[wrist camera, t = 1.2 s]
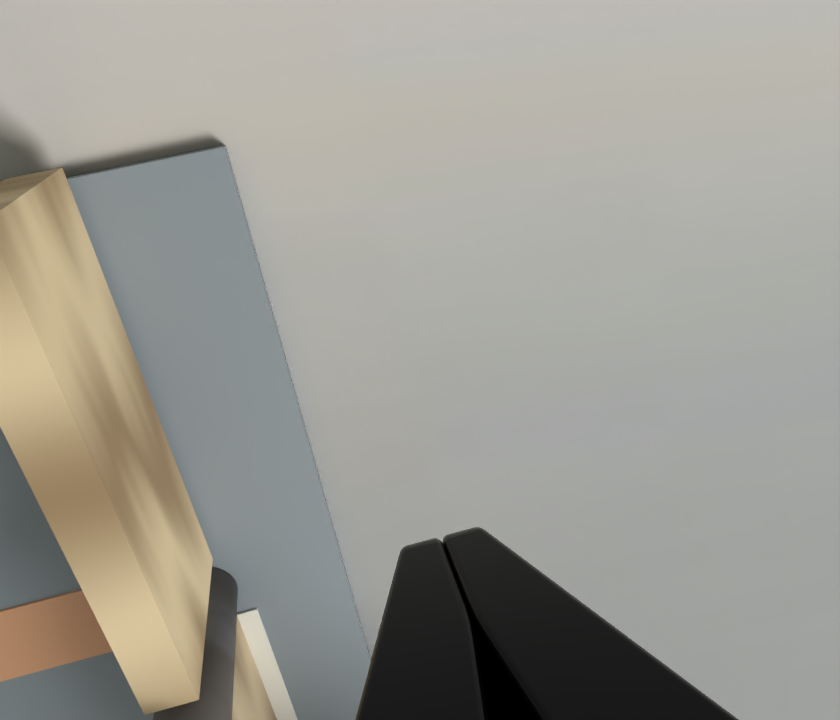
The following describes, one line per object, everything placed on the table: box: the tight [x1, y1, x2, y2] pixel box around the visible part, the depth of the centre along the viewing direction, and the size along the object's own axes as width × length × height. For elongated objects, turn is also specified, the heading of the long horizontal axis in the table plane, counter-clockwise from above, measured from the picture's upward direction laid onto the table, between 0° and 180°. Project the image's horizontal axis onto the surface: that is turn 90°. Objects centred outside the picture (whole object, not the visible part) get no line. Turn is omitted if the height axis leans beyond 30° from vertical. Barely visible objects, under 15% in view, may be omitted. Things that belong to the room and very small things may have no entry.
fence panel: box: [0, 167, 213, 715], centre depth 16 cm, size 11×1×5 cm, turn 10°
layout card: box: [0, 145, 371, 720], centre depth 21 cm, size 24×17×1 cm
